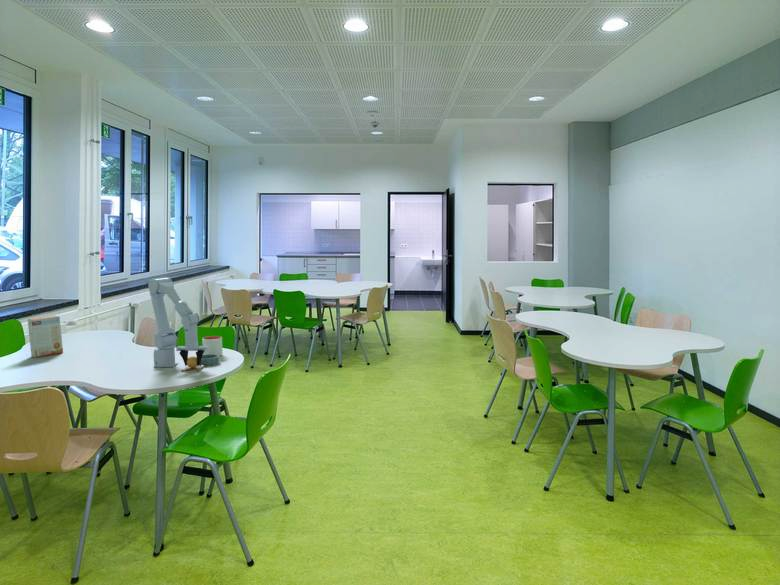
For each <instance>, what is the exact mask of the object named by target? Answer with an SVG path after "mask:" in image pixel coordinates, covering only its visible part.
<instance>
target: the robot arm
mask: <svg viewBox="0 0 780 585" xmlns="http://www.w3.org/2000/svg"><path fill="white" fill-rule="evenodd" d="M147 286H148V289H149V290H148V291H149V295H150V298H151V299H150V300H151V303H152V308H153V311H154V312H153V313H154V316H155V320H156V325H157V331H156V332H155V333H154V336H153V337H154V345H155V347H156V348H155V349H154V351H153V368H173V367H175V366H176V365H178V364H179V362H178V361H176V352H179V355H180V357H181V358H182V361H183V363H184V366H185V367H187V366H188V365H187V359H188V358H189V351H190V352H193V351H195V355H196V356H195V357H197V366H199V365H200V363H201V359H202V356H203V353H204V351H207V346H203V345H199V340H198V324H199V323H200V316H199V314H198V313H197V312H195V311H193V310H192V309H191V308H190V306H189V305H188V303H187V302H186V301H184V300H182V299H181V298H180V296H179V294H178V293H177V291H176V289H175V284H174V282H173V279H171V277H162V278H151V279H150V280H149V283H148V285H147ZM165 295H166V296H167V297H168V298H169V299H170V300H171V301H172V303H173V304H174V309H175V311H176V312H177V313H178V315H179V317H181V319H180V321H181V324H182V326H183V327H182V328H183V329H184V342H185V345H179V346H177V345H178V342H179V339H178V336H177V335H176V332H175V330H174V329H172V328H171V326H170V322H169V319H168V315H167V309H166V305H165V300H164V296H165ZM175 349H176V352H175Z"/></svg>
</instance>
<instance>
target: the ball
mask: <svg viewBox="0 0 780 585" xmlns="http://www.w3.org/2000/svg"><path fill="white" fill-rule="evenodd" d="M196 357H197V356H188V359H187V366H188V367H190V368H194V367H196V366H197V358H196Z"/></svg>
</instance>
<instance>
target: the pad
mask: <svg viewBox="0 0 780 585" xmlns="http://www.w3.org/2000/svg"><path fill="white" fill-rule="evenodd" d="M203 367H204V368H205V366H196V367H194V368H190V367H188V365H187V366H185V367H184V368H182V369H181V372H182V371H198V372H199V370H200V369H201V370H202V369H204V368H203ZM201 370H200V371H201Z"/></svg>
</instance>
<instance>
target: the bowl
mask: <svg viewBox="0 0 780 585" xmlns="http://www.w3.org/2000/svg"><path fill="white" fill-rule="evenodd" d="M195 357H196V358H197V356H195ZM218 362H220V356H218V355H216V354H205V355H203V356H202V359H201V363H200V365H210V366H214V365H213V364H215V365H217V363H218ZM218 364H219V363H218Z"/></svg>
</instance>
